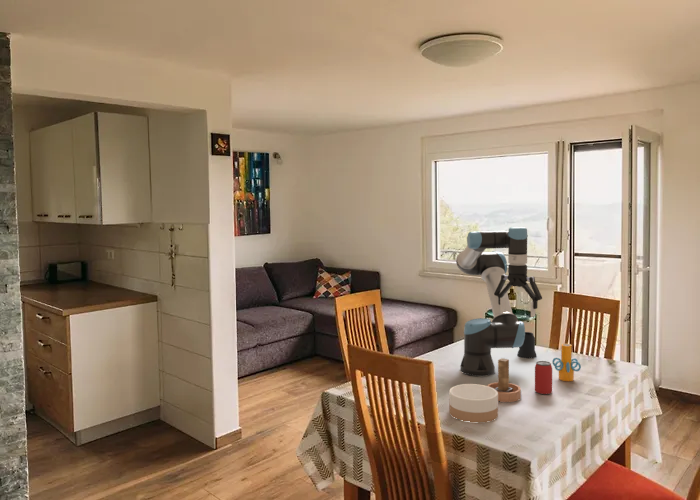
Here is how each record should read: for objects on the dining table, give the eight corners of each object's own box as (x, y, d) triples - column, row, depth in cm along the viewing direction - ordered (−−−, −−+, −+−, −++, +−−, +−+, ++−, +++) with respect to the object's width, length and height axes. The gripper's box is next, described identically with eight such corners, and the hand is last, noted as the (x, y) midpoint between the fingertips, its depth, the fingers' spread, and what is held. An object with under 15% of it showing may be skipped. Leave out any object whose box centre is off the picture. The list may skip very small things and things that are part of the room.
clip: (494, 395, 217) (494, 388, 217) (500, 391, 221) (500, 385, 221) (506, 398, 214) (506, 391, 214) (512, 394, 218) (512, 388, 217)
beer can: (543, 396, 217) (544, 366, 216) (531, 391, 222) (531, 362, 221) (555, 393, 220) (556, 363, 219) (542, 388, 226) (543, 359, 224)
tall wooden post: (498, 394, 217) (498, 360, 216) (501, 392, 220) (501, 358, 218) (505, 396, 215) (505, 361, 214) (508, 394, 218) (508, 359, 216)
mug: (536, 359, 266) (536, 336, 265) (516, 357, 270) (516, 334, 269) (537, 352, 277) (537, 330, 276) (518, 351, 281) (518, 329, 280)
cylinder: (582, 384, 229) (582, 349, 227) (555, 383, 231) (556, 348, 230) (576, 375, 241) (576, 341, 239) (551, 374, 243) (551, 340, 241)
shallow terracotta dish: (481, 397, 217) (481, 388, 217) (496, 388, 226) (496, 380, 226) (511, 404, 209) (511, 395, 208) (526, 395, 218) (526, 386, 218)
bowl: (467, 426, 190) (467, 403, 189) (440, 410, 205) (440, 388, 205) (508, 418, 196) (508, 395, 196) (478, 402, 212) (478, 381, 211)
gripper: (486, 263, 236) (486, 312, 238) (543, 267, 219) (542, 319, 221) (494, 261, 242) (494, 309, 244) (550, 265, 225) (550, 316, 227)
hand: (517, 314), depth 232 cm, fingers open, 13 cm apart
